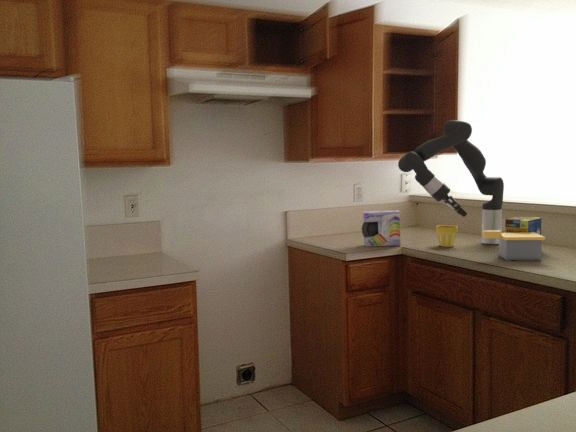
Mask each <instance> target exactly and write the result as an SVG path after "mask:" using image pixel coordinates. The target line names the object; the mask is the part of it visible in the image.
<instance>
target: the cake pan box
mask: <svg viewBox="0 0 576 432" xmlns="http://www.w3.org/2000/svg"><path fill="white" fill-rule="evenodd" d="M362 215H363V222H362V226H361V232H362V233H361V234H362V235H363V243H364V247H389V246H401V245H402V241H401V212H400V210H398V209H397V210H366V211H365V210H364V211H363V214H362Z"/></svg>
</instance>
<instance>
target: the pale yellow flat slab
mask: <svg viewBox="0 0 576 432" xmlns="http://www.w3.org/2000/svg"><path fill="white" fill-rule="evenodd" d="M483 238H485V239H491V238H502V239H504V240H542V241H545V240H546V236H543V235H542V234H541V235H539V234H537V233H535V232H517V233H505V232H503V231H500V230H483Z"/></svg>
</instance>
